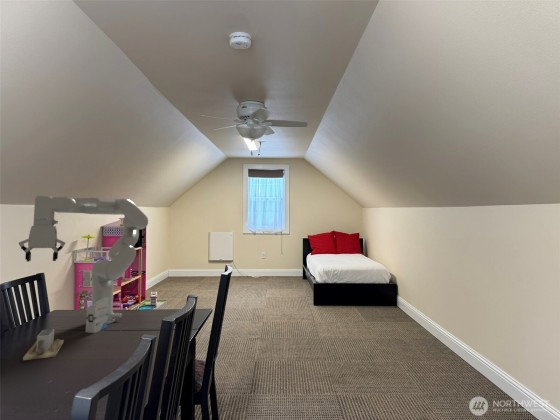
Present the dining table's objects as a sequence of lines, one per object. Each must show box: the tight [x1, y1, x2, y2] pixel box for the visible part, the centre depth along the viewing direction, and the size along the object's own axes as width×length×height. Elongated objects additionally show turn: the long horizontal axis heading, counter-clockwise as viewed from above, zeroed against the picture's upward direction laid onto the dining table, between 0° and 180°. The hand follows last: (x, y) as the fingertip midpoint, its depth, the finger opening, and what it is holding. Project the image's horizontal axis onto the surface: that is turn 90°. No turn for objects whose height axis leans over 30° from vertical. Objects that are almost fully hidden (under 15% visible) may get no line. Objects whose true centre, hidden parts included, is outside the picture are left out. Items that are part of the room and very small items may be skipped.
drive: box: [36, 328, 55, 352], centre depth 130 cm, size 4×8×6 cm, turn 24°
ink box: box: [85, 298, 108, 334], centre depth 156 cm, size 9×5×15 cm, turn 168°
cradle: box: [22, 338, 65, 361], centre depth 130 cm, size 10×16×6 cm, turn 24°
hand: (41, 261), depth 147 cm, fingers open, 9 cm apart
